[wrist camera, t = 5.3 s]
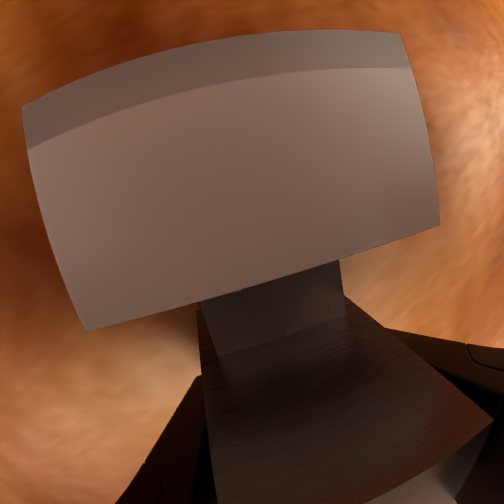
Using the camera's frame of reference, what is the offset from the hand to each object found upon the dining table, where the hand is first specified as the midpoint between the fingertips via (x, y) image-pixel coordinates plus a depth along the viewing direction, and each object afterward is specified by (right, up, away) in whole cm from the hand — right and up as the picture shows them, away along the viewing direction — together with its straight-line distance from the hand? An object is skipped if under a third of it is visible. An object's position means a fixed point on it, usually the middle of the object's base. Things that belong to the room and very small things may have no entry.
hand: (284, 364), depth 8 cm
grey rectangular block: (-2, +5, 0) cm, 6 cm away
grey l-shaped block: (0, -1, +2) cm, 3 cm away
